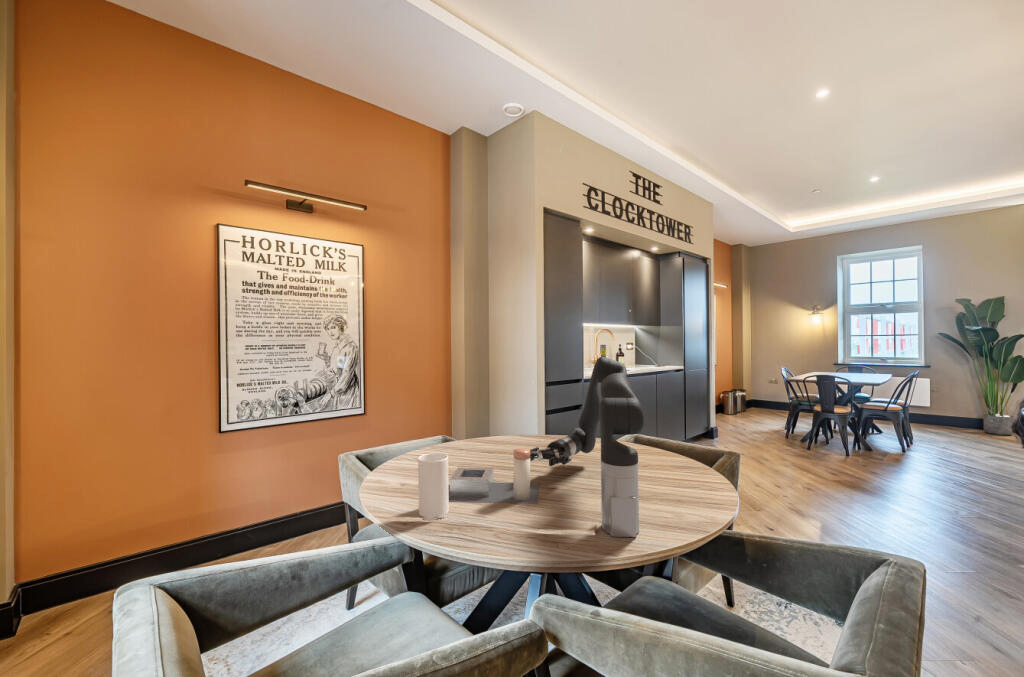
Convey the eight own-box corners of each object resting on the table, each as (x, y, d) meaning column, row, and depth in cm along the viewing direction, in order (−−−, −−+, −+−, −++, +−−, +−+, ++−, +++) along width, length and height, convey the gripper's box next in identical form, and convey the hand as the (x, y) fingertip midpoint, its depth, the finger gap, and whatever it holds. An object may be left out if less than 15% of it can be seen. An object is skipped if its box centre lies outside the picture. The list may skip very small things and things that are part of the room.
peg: (529, 500, 119) (530, 453, 119) (512, 500, 120) (513, 452, 120) (530, 494, 124) (530, 448, 124) (514, 493, 125) (514, 448, 125)
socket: (488, 496, 123) (488, 480, 123) (449, 495, 124) (449, 479, 124) (493, 482, 135) (493, 467, 135) (458, 482, 136) (458, 467, 136)
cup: (445, 506, 118) (444, 451, 118) (451, 517, 111) (451, 459, 111) (416, 511, 115) (416, 454, 115) (421, 523, 108) (420, 462, 108)
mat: (538, 507, 117) (538, 503, 117) (443, 505, 119) (443, 501, 119) (538, 486, 134) (538, 483, 134) (455, 484, 136) (455, 481, 136)
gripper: (544, 436, 148) (519, 446, 134) (580, 441, 140) (557, 452, 126) (544, 457, 148) (520, 468, 134) (580, 463, 139) (558, 476, 126)
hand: (538, 460), depth 130 cm, fingers open, 8 cm apart
